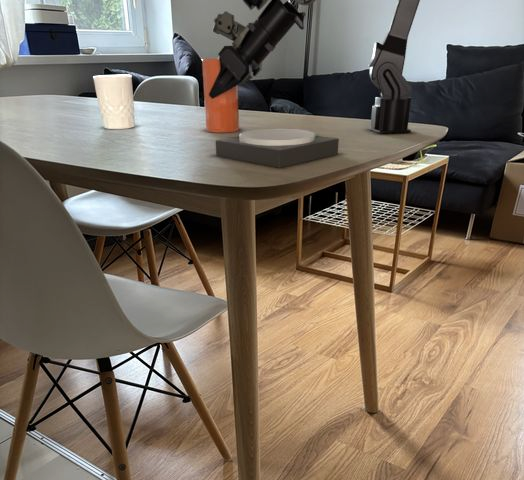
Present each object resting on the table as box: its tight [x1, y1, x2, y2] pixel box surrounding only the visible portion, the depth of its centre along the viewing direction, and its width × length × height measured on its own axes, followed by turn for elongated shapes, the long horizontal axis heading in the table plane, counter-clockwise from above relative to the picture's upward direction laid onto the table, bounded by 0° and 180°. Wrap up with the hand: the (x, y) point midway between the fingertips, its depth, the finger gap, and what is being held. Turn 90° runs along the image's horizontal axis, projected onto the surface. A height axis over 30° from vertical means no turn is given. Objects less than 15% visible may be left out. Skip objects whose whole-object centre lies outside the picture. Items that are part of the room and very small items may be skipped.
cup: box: [201, 58, 240, 134], centre depth 104 cm, size 7×7×13 cm
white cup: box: [92, 74, 136, 130], centre depth 110 cm, size 8×8×10 cm
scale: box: [215, 128, 340, 169], centre depth 82 cm, size 14×14×3 cm
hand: (214, 95), depth 104 cm, fingers closed on cup, 7 cm apart
